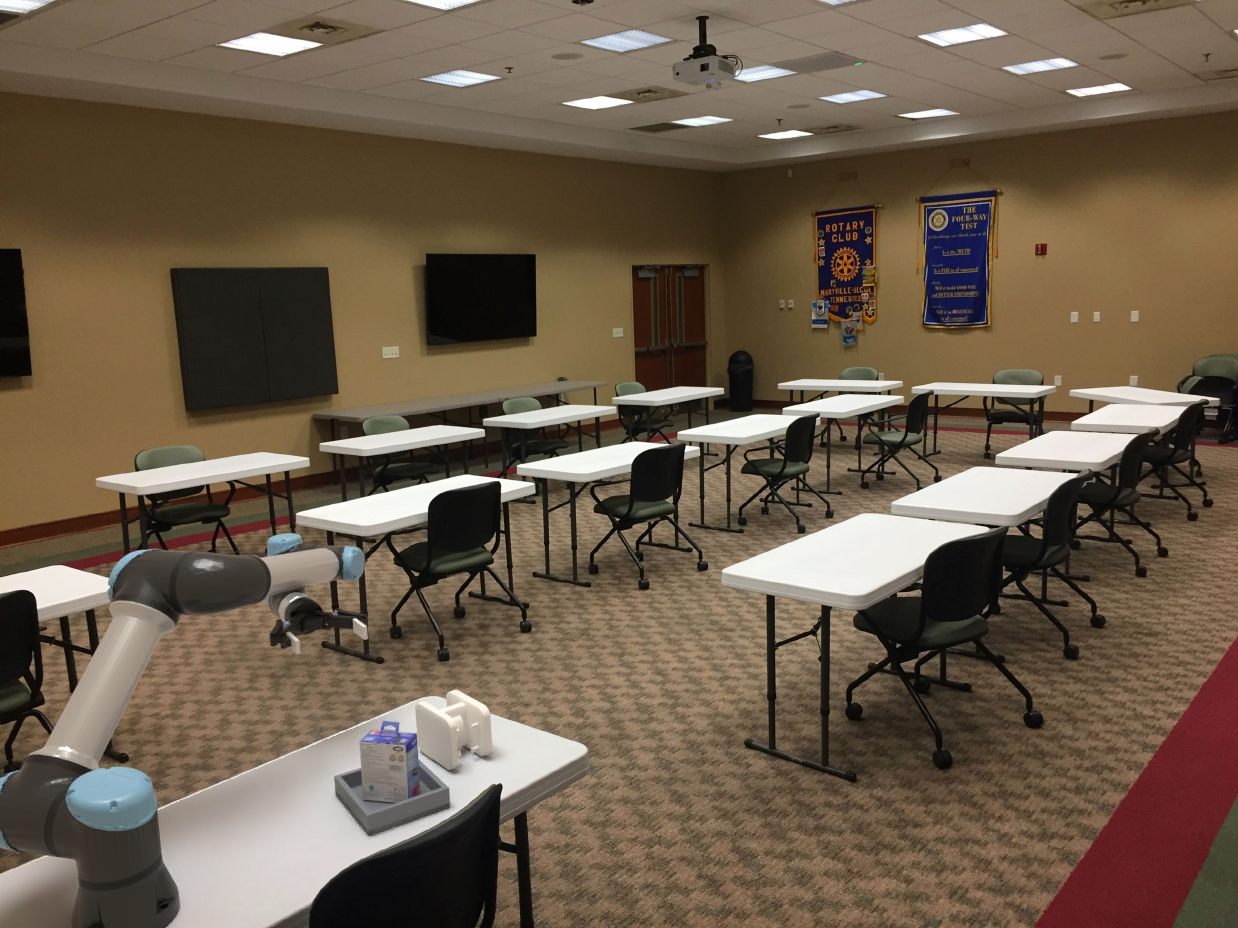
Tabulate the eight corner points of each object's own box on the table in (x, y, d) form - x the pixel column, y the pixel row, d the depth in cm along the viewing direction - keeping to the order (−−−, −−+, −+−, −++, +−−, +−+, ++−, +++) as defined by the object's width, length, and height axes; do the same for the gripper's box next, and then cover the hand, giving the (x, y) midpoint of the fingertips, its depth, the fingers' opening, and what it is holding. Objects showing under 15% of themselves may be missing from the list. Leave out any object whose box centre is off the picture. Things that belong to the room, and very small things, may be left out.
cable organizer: (415, 750, 202) (411, 699, 200) (457, 734, 209) (454, 685, 207) (452, 775, 191) (449, 722, 189) (495, 758, 198) (493, 706, 196)
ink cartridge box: (422, 790, 184) (417, 720, 181) (410, 805, 178) (405, 733, 176) (375, 786, 186) (370, 717, 183) (362, 800, 180) (356, 729, 178)
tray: (368, 836, 170) (367, 815, 169) (335, 794, 185) (333, 775, 184) (450, 807, 179) (449, 787, 178) (412, 770, 194) (411, 751, 193)
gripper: (358, 618, 214) (393, 644, 197) (243, 642, 200) (269, 672, 183) (356, 586, 213) (391, 609, 195) (240, 608, 199) (266, 635, 182)
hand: (332, 640), depth 189 cm, fingers open, 13 cm apart
